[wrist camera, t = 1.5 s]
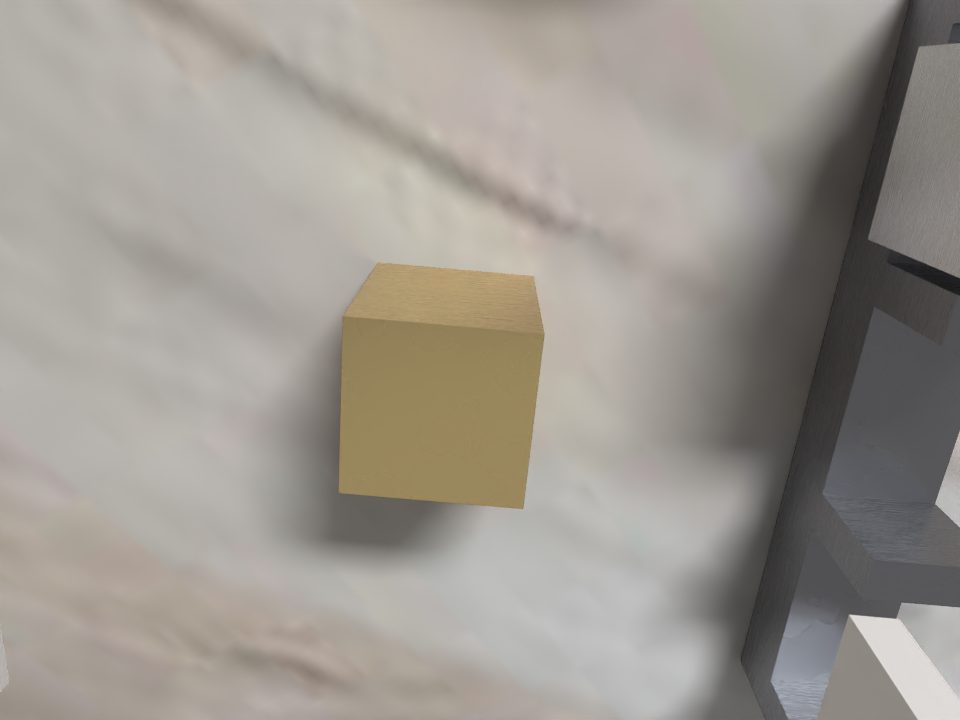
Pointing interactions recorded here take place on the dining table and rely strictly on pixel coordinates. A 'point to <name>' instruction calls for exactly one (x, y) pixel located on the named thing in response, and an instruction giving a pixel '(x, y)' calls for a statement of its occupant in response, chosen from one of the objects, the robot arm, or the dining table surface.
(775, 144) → the dining table surface
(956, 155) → the plain grey cube
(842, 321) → the rack rail
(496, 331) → the unfinished wooden cube
